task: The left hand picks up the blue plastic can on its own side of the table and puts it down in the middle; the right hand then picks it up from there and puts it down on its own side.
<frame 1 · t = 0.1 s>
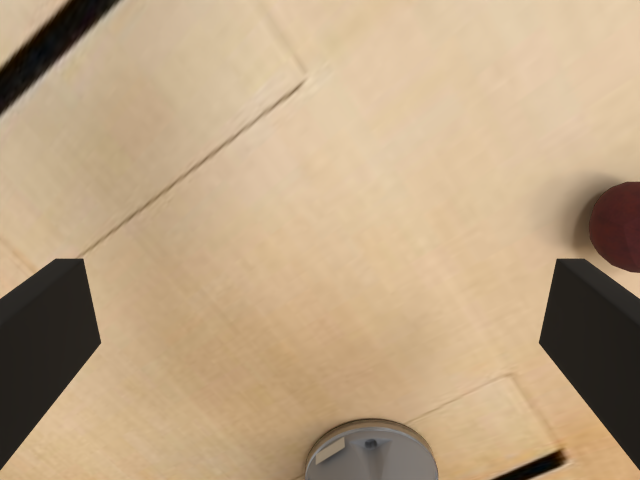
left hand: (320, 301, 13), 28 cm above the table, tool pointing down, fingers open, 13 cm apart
dark maroon ball: (611, 212, 41), on the table
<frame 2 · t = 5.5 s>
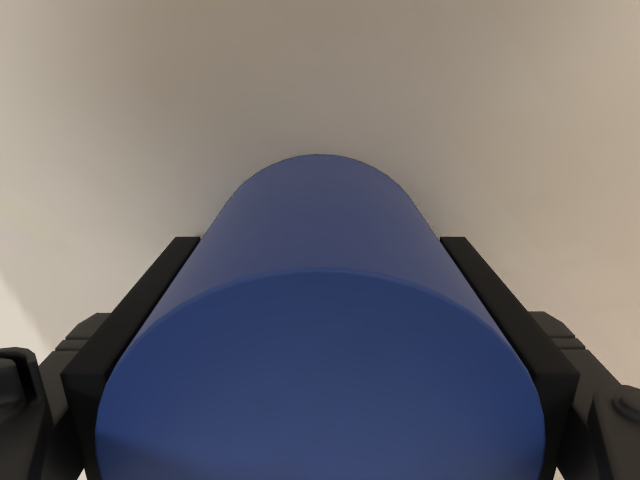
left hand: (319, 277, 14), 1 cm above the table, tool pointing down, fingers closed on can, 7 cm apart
can: (320, 262, 15), on the table, touching left hand
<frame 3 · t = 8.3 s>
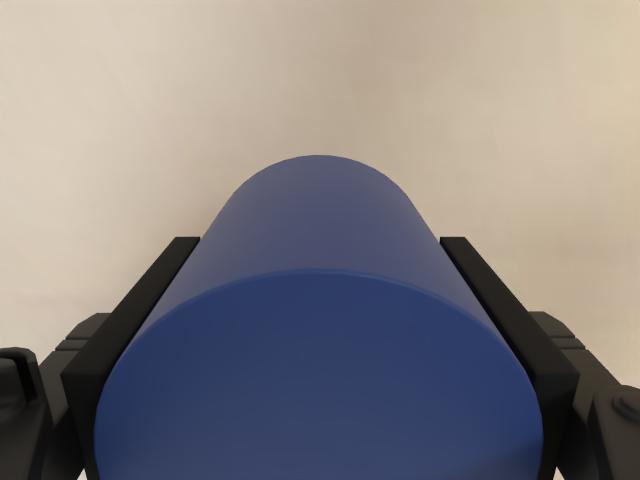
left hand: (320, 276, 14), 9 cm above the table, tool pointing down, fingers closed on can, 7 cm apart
can: (319, 262, 15), point 7 cm above the table, touching left hand
when the left hand's fingers open (3 cm above the table, at t = 11.4 s): can drops 2 cm, on the table.
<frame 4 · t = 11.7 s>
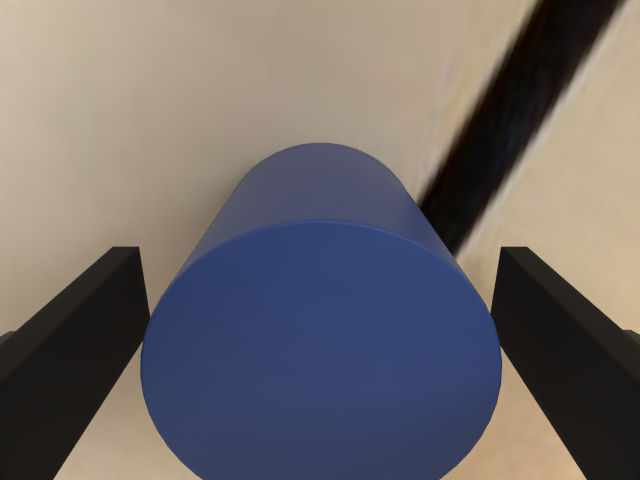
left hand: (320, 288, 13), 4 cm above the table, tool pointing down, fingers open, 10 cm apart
can: (320, 240, 17), on the table
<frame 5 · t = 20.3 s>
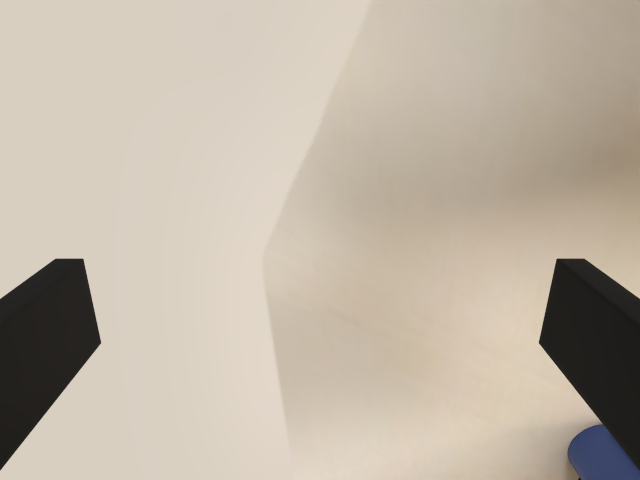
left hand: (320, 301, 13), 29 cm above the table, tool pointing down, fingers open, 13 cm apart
can: (599, 448, 52), on the table, touching right hand
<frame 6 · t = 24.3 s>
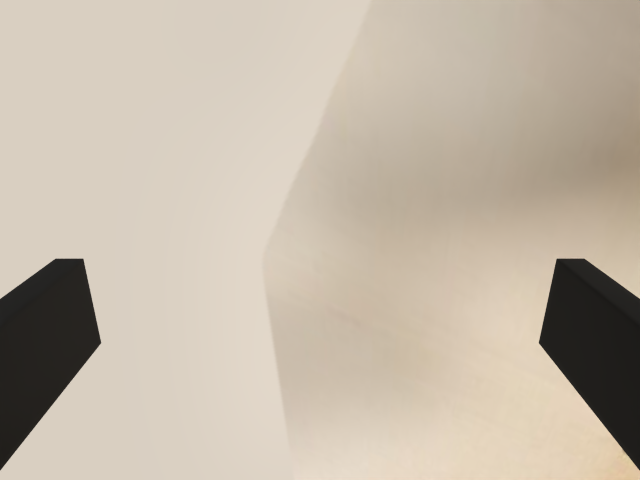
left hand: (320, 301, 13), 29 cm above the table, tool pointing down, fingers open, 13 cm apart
when the right hand's fingers open (3 cm above the table, at t = 28.1 s): can drops 2 cm, on the table.
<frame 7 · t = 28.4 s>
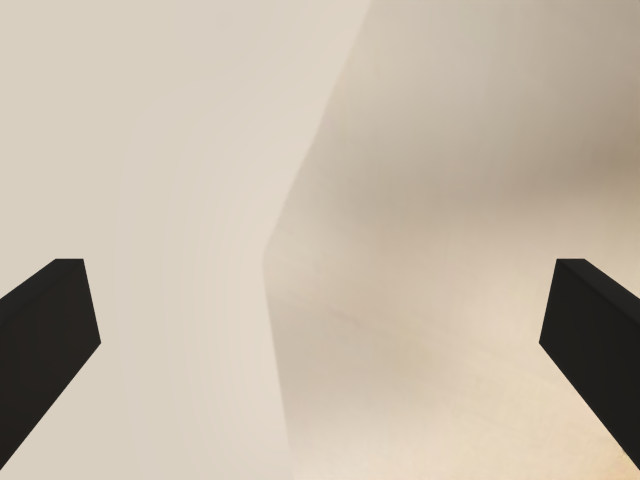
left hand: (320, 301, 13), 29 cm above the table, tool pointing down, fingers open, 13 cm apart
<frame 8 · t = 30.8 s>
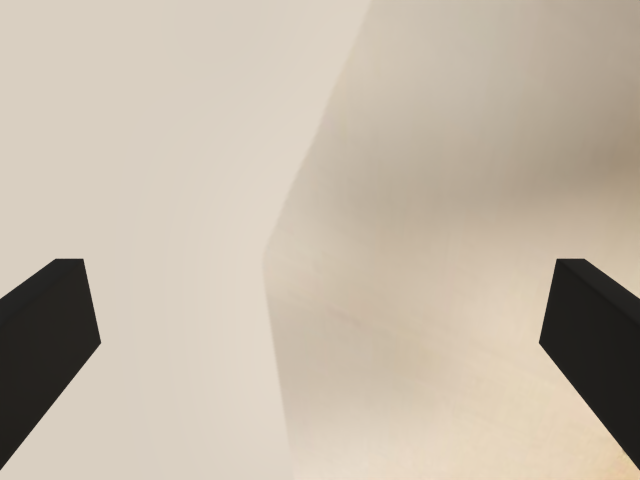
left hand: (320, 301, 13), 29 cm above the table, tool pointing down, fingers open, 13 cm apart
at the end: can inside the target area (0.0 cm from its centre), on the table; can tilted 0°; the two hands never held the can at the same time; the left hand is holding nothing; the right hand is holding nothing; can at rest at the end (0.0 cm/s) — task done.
